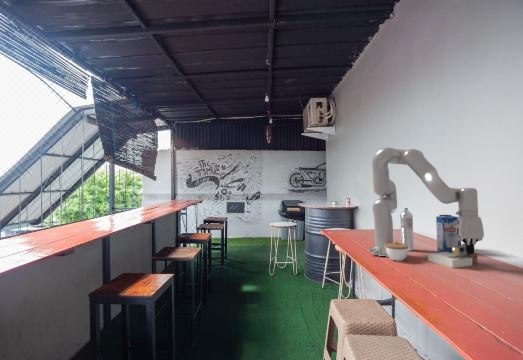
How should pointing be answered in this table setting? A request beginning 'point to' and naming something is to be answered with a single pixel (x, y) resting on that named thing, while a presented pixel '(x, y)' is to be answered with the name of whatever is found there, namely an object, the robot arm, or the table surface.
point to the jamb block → (473, 258)
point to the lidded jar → (397, 251)
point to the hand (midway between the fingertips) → (470, 252)
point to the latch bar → (459, 251)
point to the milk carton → (446, 233)
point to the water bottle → (407, 229)
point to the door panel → (449, 260)
